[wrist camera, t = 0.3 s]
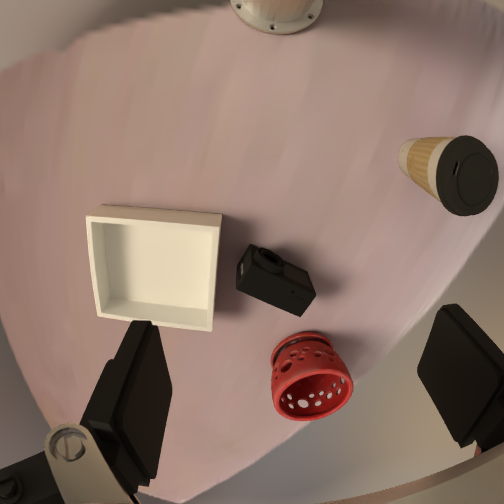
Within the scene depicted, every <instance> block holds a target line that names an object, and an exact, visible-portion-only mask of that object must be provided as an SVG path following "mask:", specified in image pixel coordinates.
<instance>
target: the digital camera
mask: <svg viewBox="0 0 504 504" xmlns="http://www.w3.org/2000/svg"><path fill="white" fill-rule="evenodd" d="M236 289H237V290H239V291H241V292H244V293H246V294H248V295H250V296H252V297H255V298H257V299H259V300H261V301H264V302H266V303H268V304H271V305H273V306H275V307H277V308H280V309H282V310H284V311H287V312H289V313H292V314H294V315H296V316H299V317H301V316H302V315H303V313H304V312H305V310H306V309H307V308H308V306H309V305H310V304H311V302H312V301H313V300H314V298H315V297H316V293H315V290H314V287H313V285H312V282H311V280H310V277H309V275H308V272H306V271H304V270H302V269H300V268H298V267H296V266H294V265H292V264H290V263H288V262H286V261H284V260H282V259H281V258H280V257H279V256H278V255H277V254H275V253H274V252H272V251H270V250H268V249H265V248H258V247H256V246H254V245H252V244H250V245H249V247H248V248H247V250H246V252H245V253H244V255H243V257H242V259H241V260H240V262H239V264H238V265H237V277H236Z"/></svg>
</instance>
